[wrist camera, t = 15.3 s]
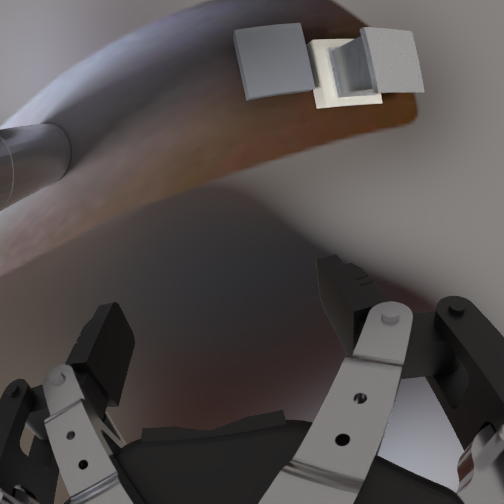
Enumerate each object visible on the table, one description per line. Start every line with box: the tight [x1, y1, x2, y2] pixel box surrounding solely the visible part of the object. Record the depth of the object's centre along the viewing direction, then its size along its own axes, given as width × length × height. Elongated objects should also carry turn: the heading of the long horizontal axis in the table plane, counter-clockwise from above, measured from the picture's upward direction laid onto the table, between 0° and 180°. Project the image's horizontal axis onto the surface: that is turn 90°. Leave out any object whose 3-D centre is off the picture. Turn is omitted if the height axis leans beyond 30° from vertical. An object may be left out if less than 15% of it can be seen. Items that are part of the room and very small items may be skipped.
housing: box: [325, 27, 424, 98], centre depth 26 cm, size 6×6×11 cm
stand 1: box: [233, 23, 315, 101], centre depth 31 cm, size 8×9×4 cm
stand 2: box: [306, 39, 382, 108], centre depth 33 cm, size 8×9×4 cm
